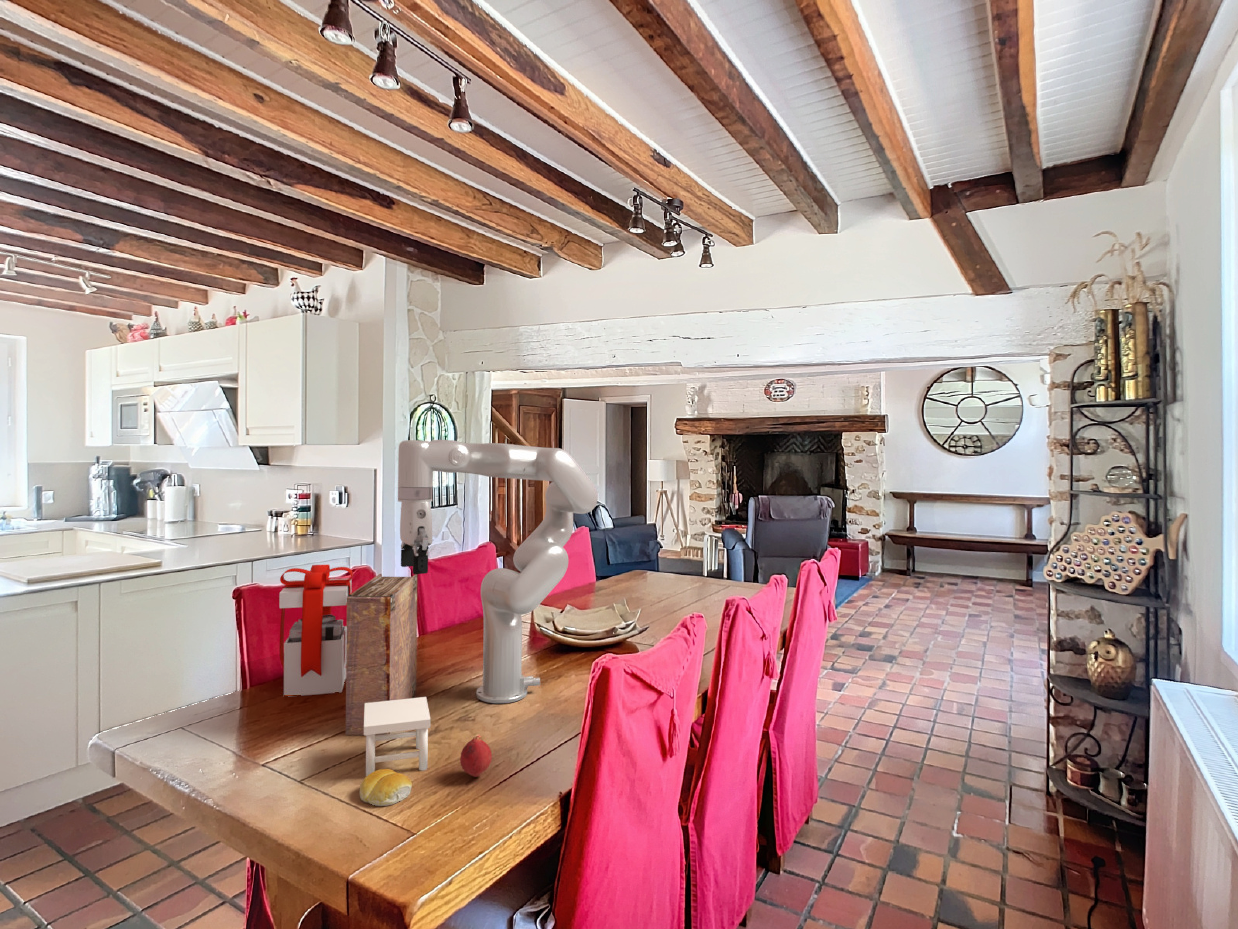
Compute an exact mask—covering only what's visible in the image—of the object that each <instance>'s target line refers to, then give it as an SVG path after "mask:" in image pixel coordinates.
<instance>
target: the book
mask: <svg viewBox="0 0 1238 929" xmlns="http://www.w3.org/2000/svg"><path fill="white" fill-rule="evenodd" d="M346 626H347V643H346V679H345V735H346V736H365V735H364V709H365V703H372V702H381V701H391V700H401V699H410V698H414V697H415V694H416V693H417V649H418V648H417V642H418V641H417V638H418V636H417V635H418V629H417V627H418V574H413V576H383V575H382V573H379V574H378V575H376V576H374V577H373V578H372V579H370V580H369V581H368V582H365V583H364V584H363V585H362V586H360V587H358V588H357V589H356V590H354V591H353V592H351V594H350V595H349V596H347V604H346ZM415 692H416V693H415ZM413 696H414V697H413ZM385 734H392V732H389V733H380V734H375V736H377V735H385Z"/></svg>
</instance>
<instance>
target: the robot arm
mask: <svg viewBox="0 0 1238 929" xmlns="http://www.w3.org/2000/svg"><path fill="white" fill-rule="evenodd" d="M397 454H398V457H397V460H398V461H397V462H398V463H397V464H398V466H397V502H399V503H401V507H400V518H399V519H400V520H399V538H400V541H401V544H400V566H401V567H402V568H406V567H407V568H408V567H412V574H413V575H415V574H417V575H422V574H428V572H429V547H430V546H431V545H432V544H433V518H432V507H431V502H433V485H434V484H433V481H434V480H433V476H434V472H441V473H449V474H454V473H461V474H473V475H478V476H483V477H484V476H485V477H489V478H500V479H515V480H531V481H544V482H545V481H546V482H550V483H549V484H548V486H547V488H546V490H545V515H544V517H543V520H542V521H541V523H540V524H539V525H538V526H537V527H536V528H535V529H534V531H532V532H531V534H530V535H529V536H527V538H526V539H525V540H523V542H522V543H521V544H520V545H519V546H518V548H516V550H515V552H514V554H513V557H512V559H513V560H512V561H513V564H514V567H515V568H516V569H517V571H515V570H512V569H509V568H505V567H499V568H495V569H491V570H490V571H489V572H487V573H486V574H485V575H484V577H483V578H482V581H481V585H480V600H481V605H482V611H483V638H482V639H483V643H482V644H483V646H482V647H483V648H482V651H483V652H482V653H483V654H482V656H483V657H482V685H481V686H479V687H478V688H477V689H476V691H475V692H476V694H475V695H476V698H477V699H478V700H480V701H482V702H484V703H489V704H509V703H514V702H518V701H521V700H522V699H524V698H526V696H527V695H528V687H531V686H533V687H535V686H536V687H537V686H541V678H540V677H534V676H533V675H528V676H524V675H523V673H522V659H523V658H522V655H523V652H522V651H523V649H522V648H523V618H522V615H527V614H530V613H531V612H533V611H535V609H537V607H538V606H539V605H540V604H541V603H542V602H543V601H544V600H545V599H546V598H547V597H548V595H549V594H550V593H551V592H552V591H553V589H555V588H556V586H558V584H559V583H560V581H562V579H563V578H564V576H565V574H566V572H567V570H568V567H569V555H568V553H567V550H566V549H565V545H566V544H567V543H568V542H569V540H570V539H571V536H572V533H573V530H574V514H579V515H584V514H588V513H590V512H591V511H593V510H594V509H595V507H596V506H597V503H598V500H599V499H598V498H599V497H598V491H597V489H596V486H595V485H594V483H593V482H592V480H591V479H590V478H589V477H588V475H587V474H586V472H585V471H584V470H583V469H582V467H581V466H580V465H579V464H578V462H577V461H576V459H574V457H573V456H571V454H570V453H569V452H568V451H566V450H565V449H562V448H559V447H539V446H529V445H521V444H519V445H518V444H511V443H496V442H489V443H488V442H487V443H485V442H484V443H472V442H471V443H469V442H460V441H457V440H453V439H451V440H450V439H434V440H430V441H428V440H418V439H416V440H415V439H413V440H412V439H411V440H410V439H409V440H407V439H406V440H402V441H401V442H400V443H399V445H398V452H397ZM518 571H519V572H518Z"/></svg>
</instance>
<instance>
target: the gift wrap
mask: <svg viewBox="0 0 1238 929" xmlns="http://www.w3.org/2000/svg"><path fill="white" fill-rule="evenodd" d="M336 571H345V572H348V573H349V575H350V577H349V578H331V577H330V573H331V572H336ZM292 572H293V573H296V572H297V573H300V574H304V578H303V579H302V580H301V579H298V580H297V579H296V580H294V579H293V580H290V581H289V580H286V579H285V574H287V573H292ZM353 577H354V572H353V570H352V569H351V568H350V567H347V566H337V567H332V568H331V566H330V564H312V565H311V568H310V570H308V569H305V568H299V567H298V568H297V567H295V568H292V567H291V568H289V569H286V570H285V571H284V572H283V573H282V574H281V576H280V579H279V581H280V583H281V584H282V585H284V586H283V587H282V590H281V591H280V592H279V596H278V598H279V605H278V606H279V609H281V610H280V612H281V613H280V614H281V615H280V623H279V624H280V625H279V626H280V627H279V628H280V629H279V659H280V664H281V666H282V669H283V696H284V695H301V696H312V695H325V694H336V693H335V692H339V693H343V690H344V686H345V683H346V643H347V625H344V619H336V618H337V617H336V616H335V615H333V614H332V607H337V606H340V607H341V606H347V596H349V595H350V594H352V580H353V579H352V578H353ZM292 608H294V609H295V608H302V609H301V610H302V612H301V618H300V619H298V621H295V622H294V623H293V625H292V626H291V628H290V629H289V635H288V637H287V638H286V640H285V639H284V638H285V613H286V609H292ZM284 640H285V641H284ZM344 682H345V683H344Z"/></svg>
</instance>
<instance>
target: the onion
mask: <svg viewBox="0 0 1238 929" xmlns="http://www.w3.org/2000/svg"><path fill="white" fill-rule="evenodd" d="M481 738H482V736H481V735H480V734H479V733H478V734H475V735H474V736H473V738H472V739H471V740H469V741H468V742H467V743H466V744H465V746H463V748H462V750H461V753H460V757H459V758H460V759H459V760H460V763H459V764H460V766H461V768H462V770H463V771H464V772H465V773H466V774H468V775H469V776H472V777H474V778H478V777H480V776H481V775H482V774H483V773H484V772H485V771H486V770H488V769H489V767H490V765H491V763H492V758H493V756H492V755H493V754H492V749H491V747H490V746H489V744H488V743H487V742H486V741H484V740H482V739H481Z"/></svg>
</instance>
